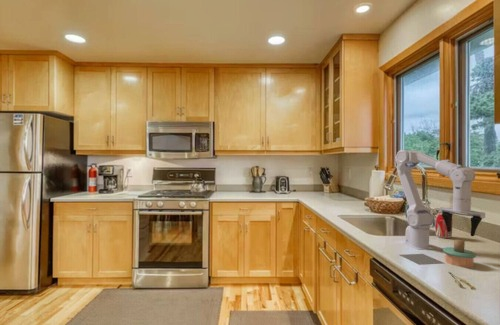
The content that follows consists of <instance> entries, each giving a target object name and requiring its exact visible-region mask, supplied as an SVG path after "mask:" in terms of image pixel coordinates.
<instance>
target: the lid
mask: <svg viewBox="0 0 500 325" xmlns="http://www.w3.org/2000/svg"><path fill="white" fill-rule="evenodd" d="M465 245H466V244H465V240H462V239H453V247H443V249H442V252H443V253H444V254H445V253H446V254H449V255H452V256H457V257H463V258H476V255H477V253H475V251H472V250H469V249H465V248H466V247H465Z"/></svg>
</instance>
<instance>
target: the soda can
mask: <svg viewBox="0 0 500 325" xmlns="http://www.w3.org/2000/svg"><path fill="white" fill-rule="evenodd" d="M452 234H453V221H452V222H451V232H448V231H447V226H446V223H445V221H444V219H443V217H442V213H441V212H437V214H436V216H435V236H437V237H438V238H441V239H450V238H452V236H453V235H452Z"/></svg>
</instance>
